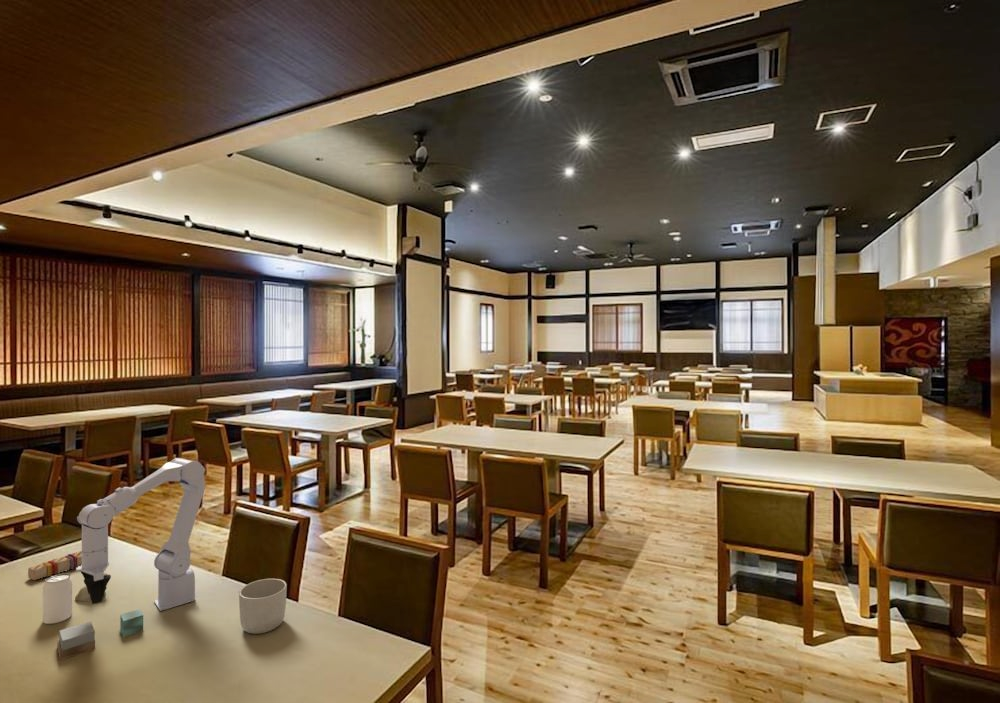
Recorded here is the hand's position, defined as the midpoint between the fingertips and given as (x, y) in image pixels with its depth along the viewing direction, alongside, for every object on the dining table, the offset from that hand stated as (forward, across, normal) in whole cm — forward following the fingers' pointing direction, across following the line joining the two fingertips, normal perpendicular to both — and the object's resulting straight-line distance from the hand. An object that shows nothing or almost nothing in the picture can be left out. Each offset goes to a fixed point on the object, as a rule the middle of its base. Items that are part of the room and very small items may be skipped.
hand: (95, 597), depth 140 cm
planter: (+11, +27, +35) cm, 46 cm away
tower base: (+11, +5, -4) cm, 13 cm away
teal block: (+10, +5, +8) cm, 14 cm away
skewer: (+11, -57, -1) cm, 58 cm away
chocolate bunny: (+10, -26, +2) cm, 28 cm away
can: (+10, -17, -7) cm, 21 cm away
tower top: (+8, +5, -4) cm, 10 cm away
